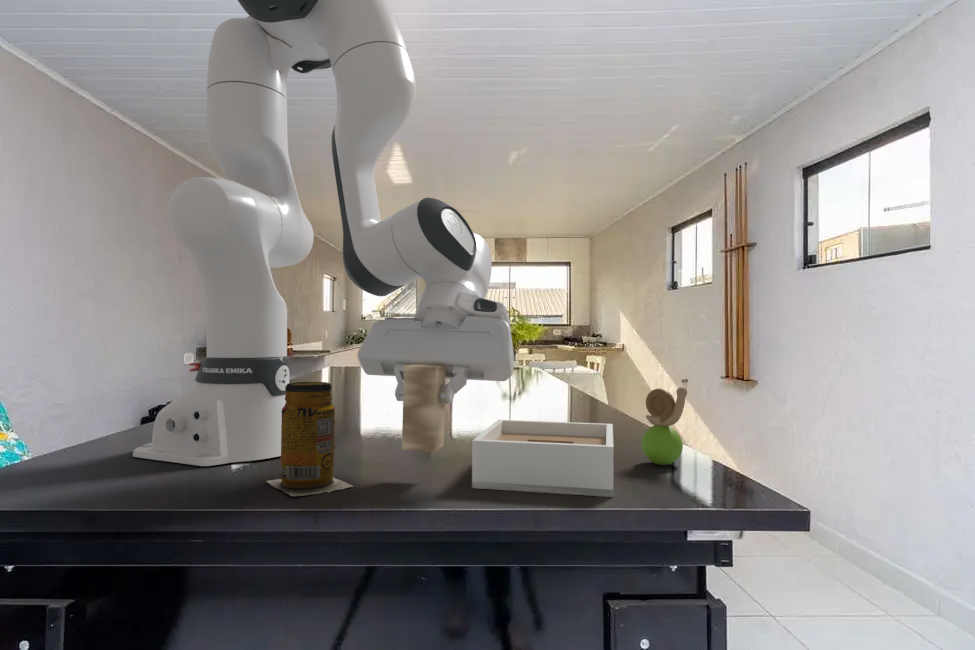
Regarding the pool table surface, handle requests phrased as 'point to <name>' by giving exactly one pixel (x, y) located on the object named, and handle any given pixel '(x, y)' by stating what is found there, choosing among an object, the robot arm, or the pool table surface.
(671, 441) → the snail figurine
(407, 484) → the pool table surface
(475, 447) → the open box
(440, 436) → the beech peg
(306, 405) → the condiment
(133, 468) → the pool table surface
